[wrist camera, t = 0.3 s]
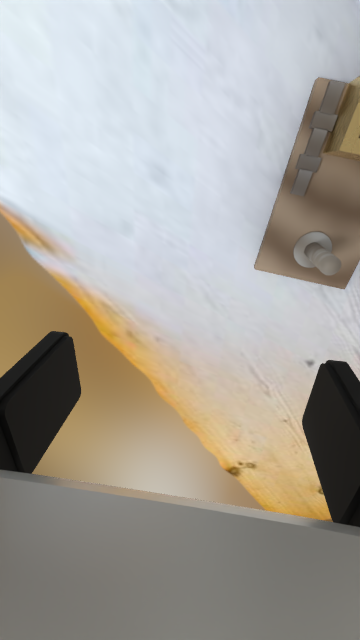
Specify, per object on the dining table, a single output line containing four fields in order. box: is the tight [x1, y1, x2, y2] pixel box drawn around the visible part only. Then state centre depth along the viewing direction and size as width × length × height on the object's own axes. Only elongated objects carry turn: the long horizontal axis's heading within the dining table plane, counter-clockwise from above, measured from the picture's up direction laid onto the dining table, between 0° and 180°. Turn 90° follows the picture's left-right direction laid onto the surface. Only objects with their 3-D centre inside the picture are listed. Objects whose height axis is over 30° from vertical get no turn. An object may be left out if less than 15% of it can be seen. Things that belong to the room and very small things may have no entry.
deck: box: [254, 77, 360, 289], centre depth 30 cm, size 20×12×8 cm, turn 169°
